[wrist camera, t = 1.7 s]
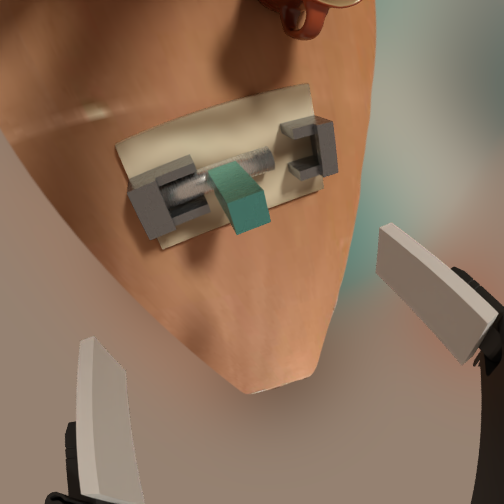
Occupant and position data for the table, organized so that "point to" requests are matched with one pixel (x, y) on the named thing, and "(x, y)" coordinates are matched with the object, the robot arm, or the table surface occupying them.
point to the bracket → (153, 204)
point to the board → (228, 148)
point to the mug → (316, 6)
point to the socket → (313, 147)
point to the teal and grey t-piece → (228, 188)
